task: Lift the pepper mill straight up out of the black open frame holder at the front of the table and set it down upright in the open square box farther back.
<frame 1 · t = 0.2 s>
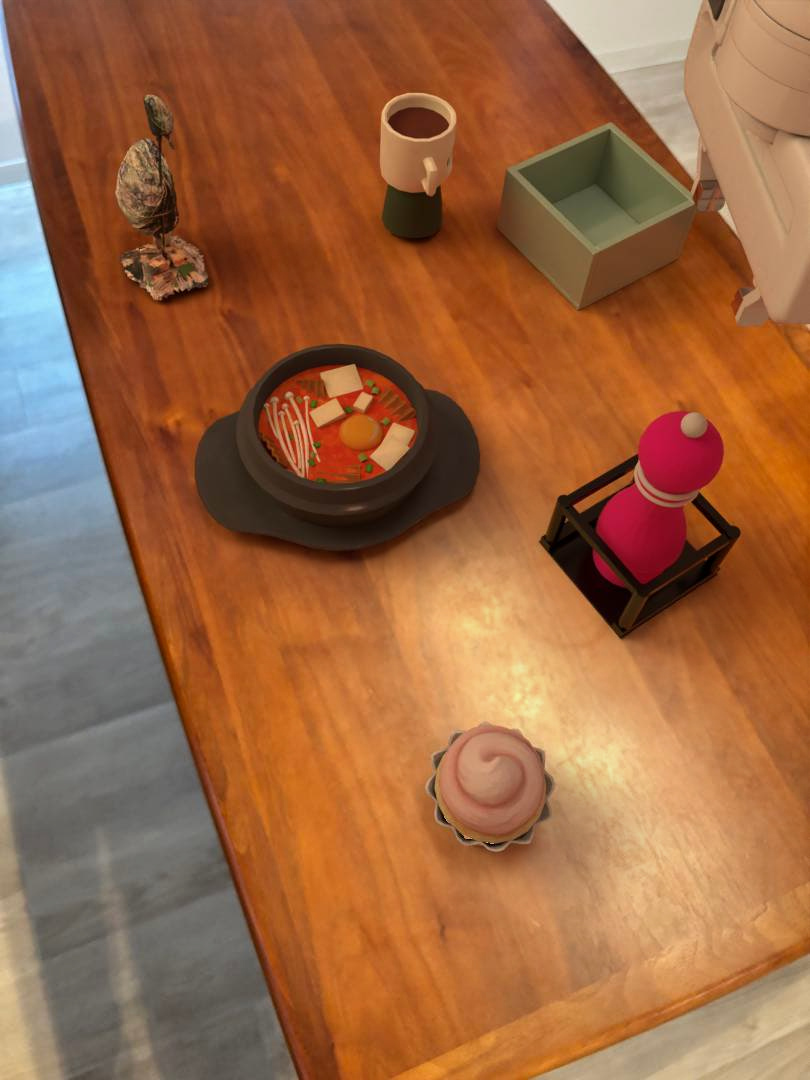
hand: (724, 258, 61), 31 cm above the table, tool pointing down, fingers open, 8 cm apart
pepper mill: (627, 558, 86), resting on black open frame holder
open square box: (587, 243, 105), on the table
cupcake: (482, 803, 76), on the table
black open frame holder: (627, 557, 86), on the table
casserole: (339, 471, 90), on the table
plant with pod: (163, 264, 101), on the table
character mug: (411, 224, 105), on the table
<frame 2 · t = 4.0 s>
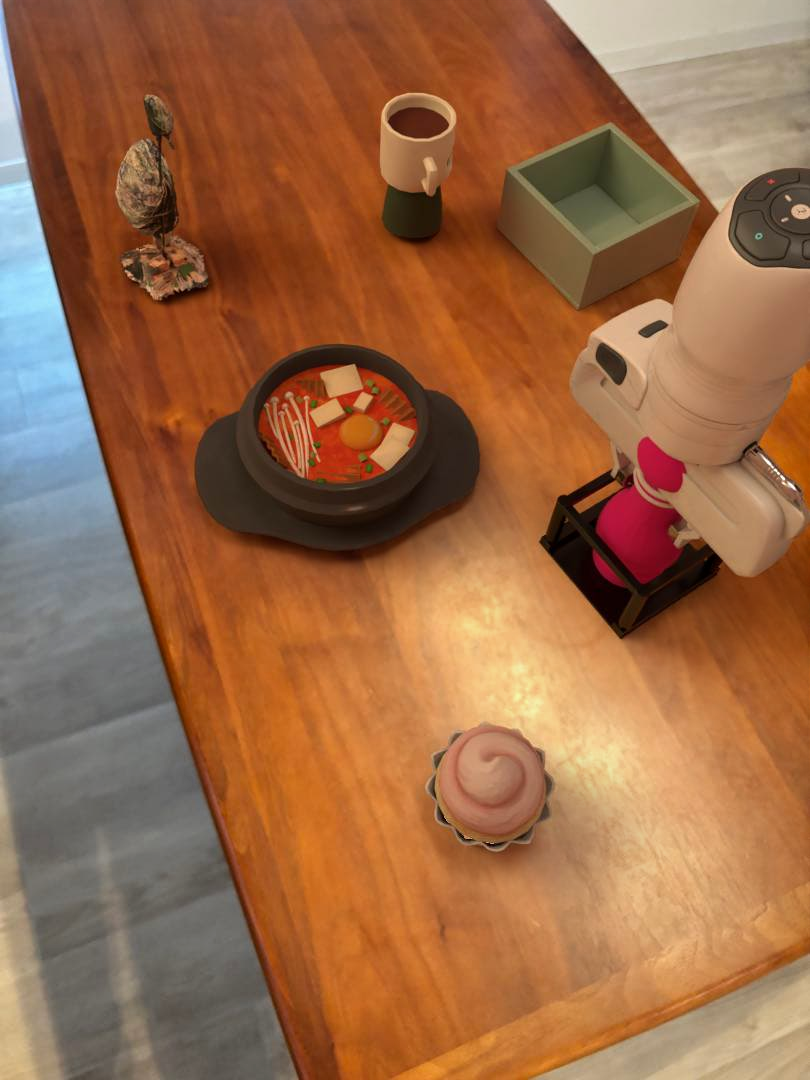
hand: (650, 507, 79), 9 cm above the table, tool pointing down, fingers closed on pepper mill, 5 cm apart
pepper mill: (627, 558, 86), resting on black open frame holder, touching arm, gripper
everything else where it was.
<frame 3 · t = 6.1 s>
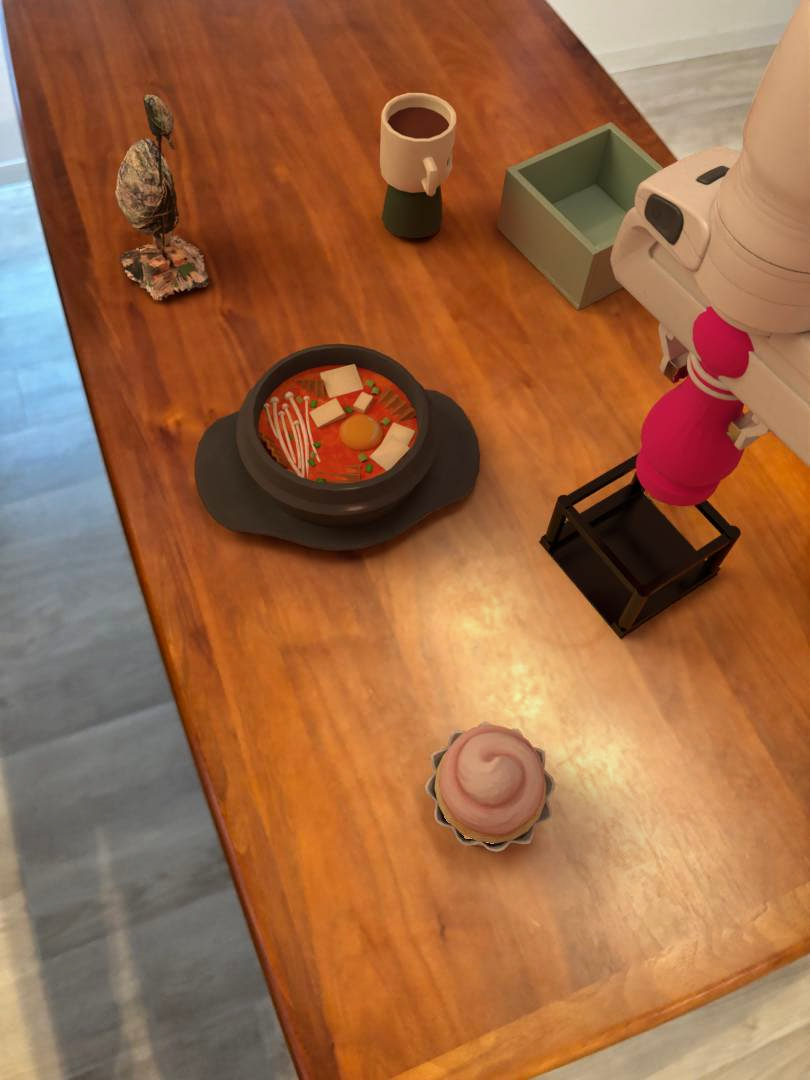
hand: (705, 405, 68), 21 cm above the table, tool pointing down, fingers closed on pepper mill, 5 cm apart
pepper mill: (676, 473, 76), point 13 cm above the table, touching arm, gripper
everything else where it was.
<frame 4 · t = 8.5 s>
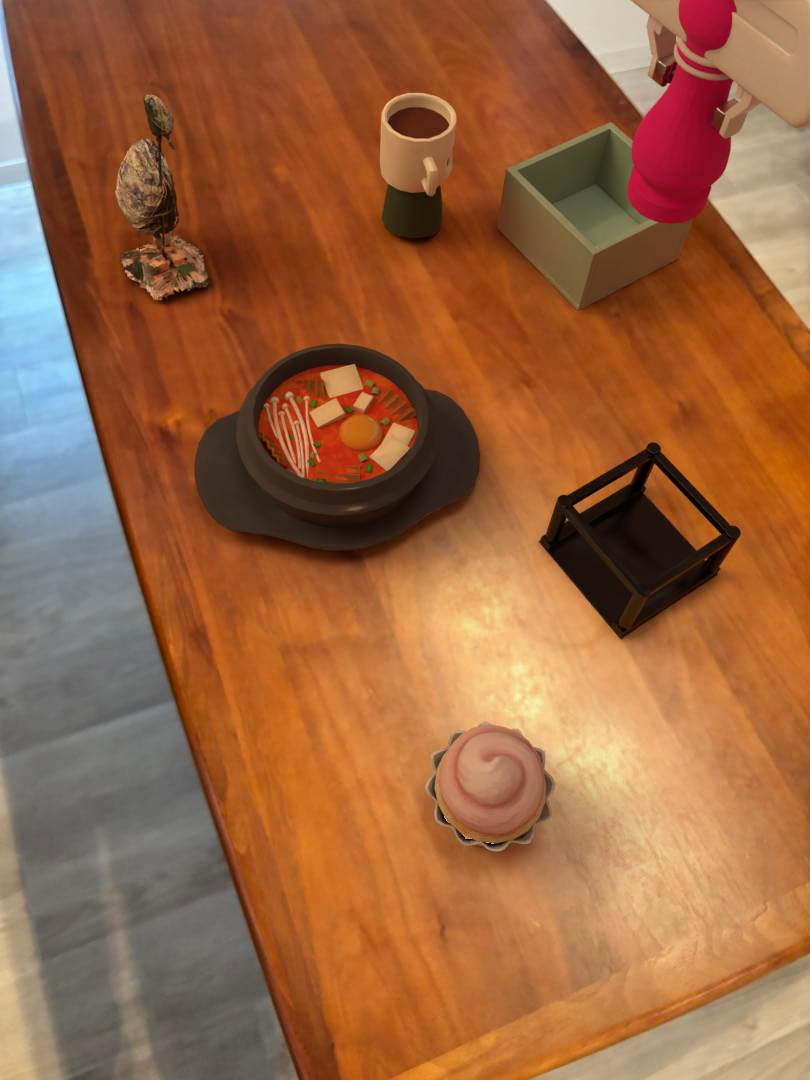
hand: (692, 104, 72), 29 cm above the table, tool pointing down, fingers closed on pepper mill, 5 cm apart
pepper mill: (665, 198, 80), point 20 cm above the table, touching arm, gripper
everything else where it was.
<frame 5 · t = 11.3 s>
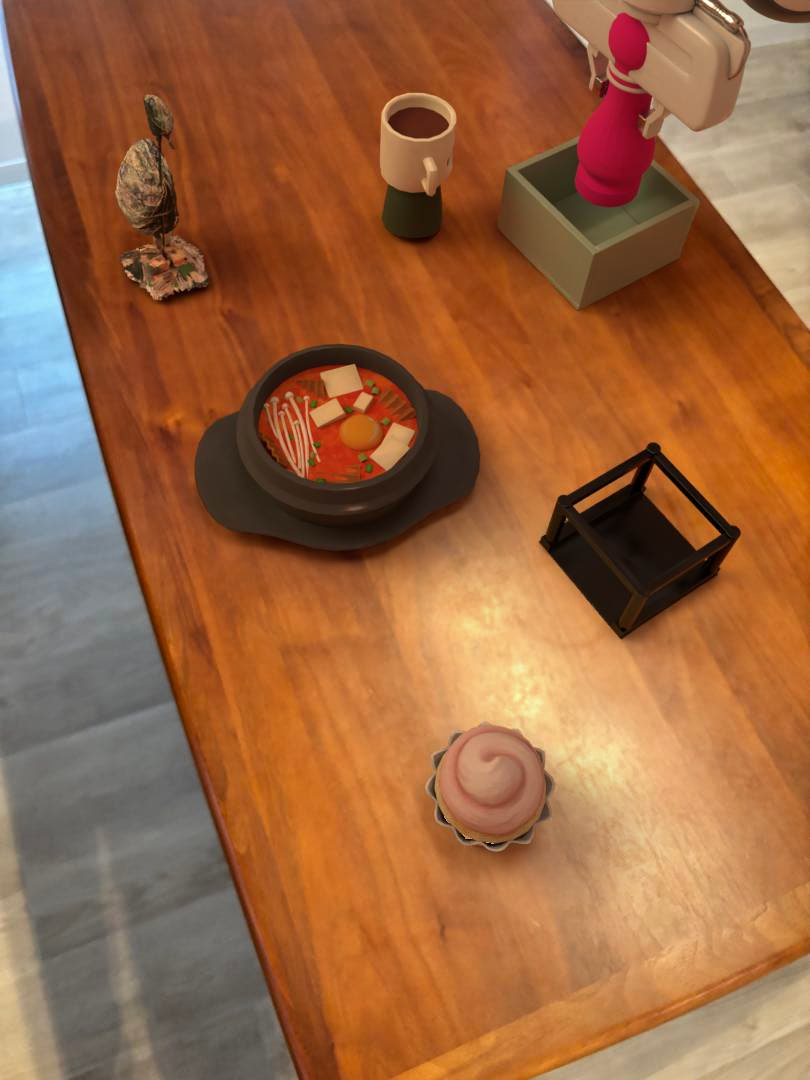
hand: (622, 111, 91), 16 cm above the table, tool pointing down, fingers closed on pepper mill, 5 cm apart
pepper mill: (605, 187, 99), point 7 cm above the table, touching arm, gripper
everything else where it was.
when the fingers open (9 cm above the table, at t = 13.2 s): pepper mill stays where it is, resting on open square box.
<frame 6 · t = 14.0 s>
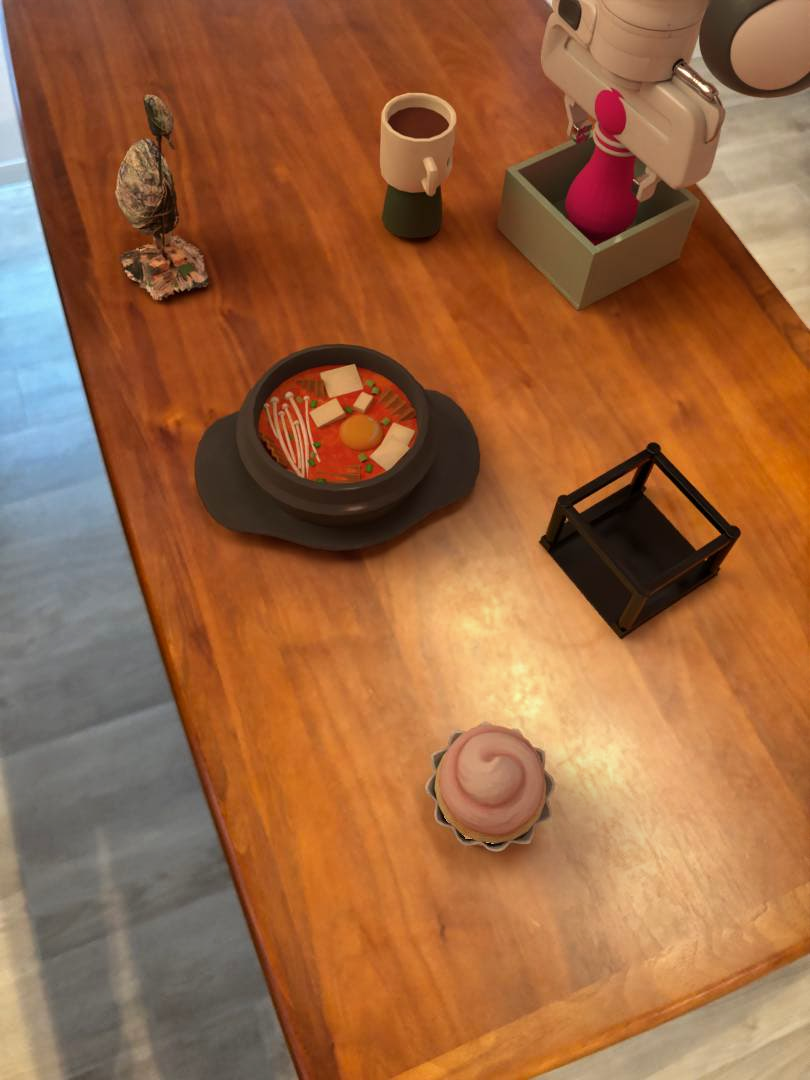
hand: (608, 166, 96), 10 cm above the table, tool pointing down, fingers open, 8 cm apart
pepper mill: (592, 238, 105), resting on open square box
everything else where it was.
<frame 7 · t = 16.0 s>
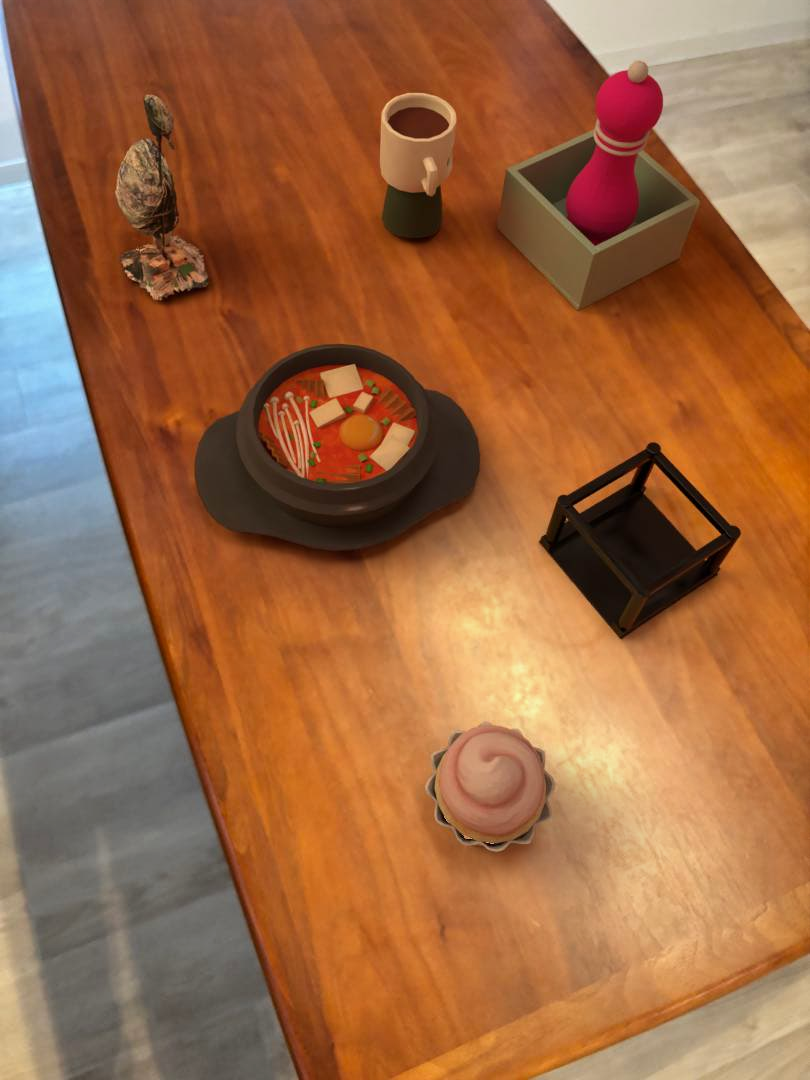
nothing on the table moved.
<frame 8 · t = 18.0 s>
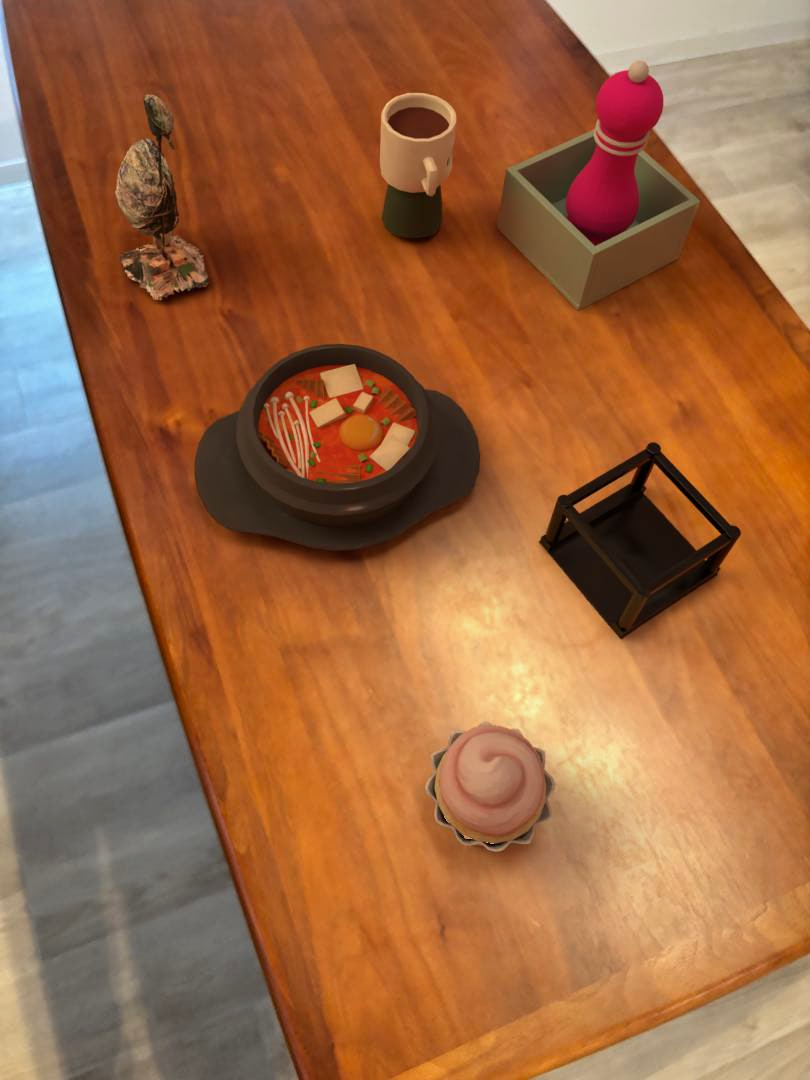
nothing on the table moved.
at the end: pepper mill inside the target area in the open square box (0.5 cm from its centre), point 0.4 cm above the open square box's base; pepper mill tilted 0°; the gripper is holding nothing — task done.
